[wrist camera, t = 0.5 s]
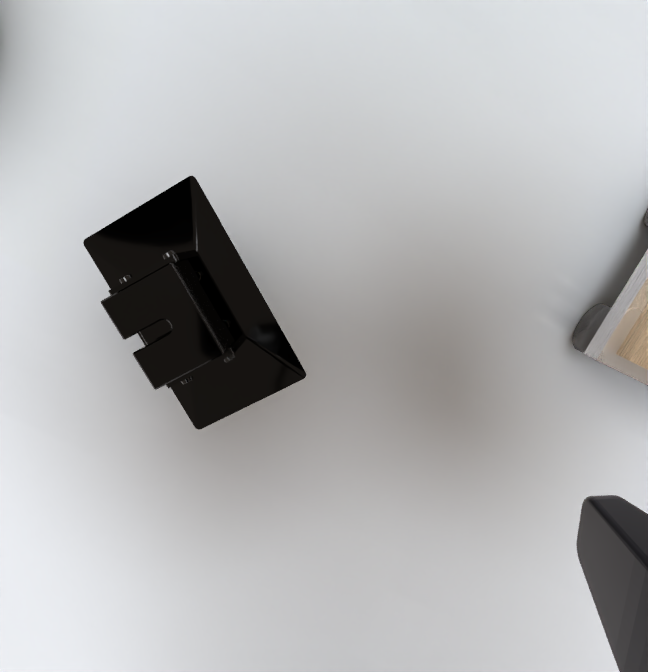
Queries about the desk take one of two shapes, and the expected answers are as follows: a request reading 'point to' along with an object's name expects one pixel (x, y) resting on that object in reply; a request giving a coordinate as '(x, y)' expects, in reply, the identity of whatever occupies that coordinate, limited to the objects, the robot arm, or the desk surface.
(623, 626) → the robot arm
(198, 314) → the build plate
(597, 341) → the trolley
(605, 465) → the desk surface
